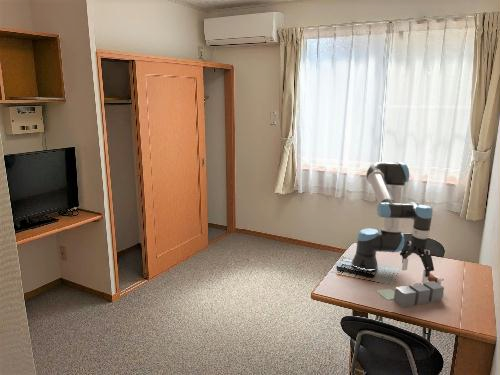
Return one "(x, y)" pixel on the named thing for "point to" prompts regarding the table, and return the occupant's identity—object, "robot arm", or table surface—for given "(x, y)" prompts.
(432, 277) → the bull figurine
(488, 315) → the table surface
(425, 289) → the grey box
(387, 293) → the mat
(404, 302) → the grey block
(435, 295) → the grey cube
